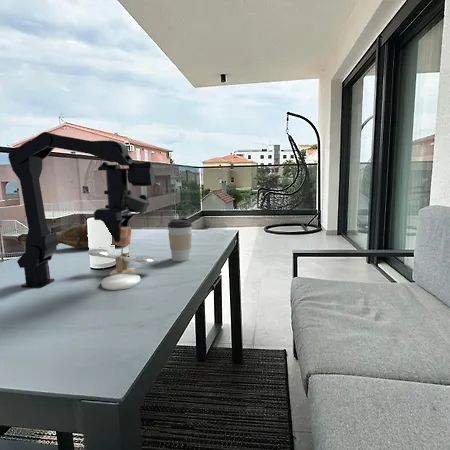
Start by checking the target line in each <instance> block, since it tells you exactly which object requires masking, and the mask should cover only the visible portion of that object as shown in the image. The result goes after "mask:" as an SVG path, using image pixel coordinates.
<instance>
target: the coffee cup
mask: <svg viewBox="0 0 450 450" xmlns="http://www.w3.org/2000/svg"><path fill="white" fill-rule="evenodd" d="M192 227H193V223H192V222H190V220H189V219H188V218H187V217H186V218H184V217H183V218H177V219H171V220H170V221H169V223H167V229H168V230H167V231H168V233H167V234H168V241H169V249H170V253H171V260H172V261H174V262H188V261H190V260H191V258H192V257H191V252H192V251H191V250H192V242H193V241H192V237H193V235H192V234H193V232H192Z"/></svg>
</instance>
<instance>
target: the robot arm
mask: <svg viewBox="0 0 450 450" xmlns="http://www.w3.org/2000/svg"><path fill="white" fill-rule="evenodd" d="M55 148H56V149H62V150H64V151H65V150H66V151H71V152H76V153H81V154H88V155H92V156H93V157H96V158H99V159H101V160H104V161H103V162H102V164H101V165H99V166H98V168H97V170H98V171H105V176H106V177H105V181H106V190H104V191H103V192H104V193H103V194H104V195H107V204H106V205H105V206H104V207H103V208H101V207H100V208H97V209H96V210H95V211H94V212H93V220H94V221H101V222H103V224H105V225H106V227H107V228H108V230H109V232H110V233H111V235H112V237H113V238H114V240H115V242H119V241H120V231H121V226H126V227H130V226H129V224H130V223H131V222H130V221H131V220H132V219H133V218H134V217H136V213H137V214H138V213H140V214H144V213H147V209H148V206H150V200H149V198H148V197H149V196H148V195H145V194H140V195H139V196H136V195H133V193H132V191H131V189H129V187H128V186H129V185H128V183H129V184H131V185H132V187H154V186H155V180H156V179H155V178H156V177H155V171H154V168H153V163H152V162H151V161H146V162H135V161H134V160H133V158H132V157H131V156H130V154H129V150H128V147H127V146H126V145H125V144H124V143H123V142H119V141H116V140H87V139H81V138H76V137H71V136H66V135H65V136H64V135H59V134H56V133H52V132H48V131H43V132H41V133H39V134H38V135H36V136H35V137H34V138H32V139H29V140H27V141H25V142H23V143H22V144H20V145H19V146H16V147H13V148H12V149H11V150H10V151H9V152H8V161H9V164H10V166H11V169H12V171H13V173H14V174H15V175H16V177H17V178H18V180H19V183H20V189H21V194H22V201H23V206H24V212H25V219H26V223H27V229H28V231H27V233H26V234H27V237H26V240H25V244H24V253H23V254H22V255H21V256H20V257H19V258H18V259H17V260H16V262H17V265H18V267H19V268H20V269H23V270H24V278H25V283H23V284H21V285H20V286H21V287H22V288H43V287H45V286H47V285H49V284H51V283H53V282H54V281H55V278H51V274H50V266H49V261H51V260H52V257H53V255H54V254H55V253H56V251H57V249H58V248H57V247H58V246H59V243H57V240H56V233H57V232H56V231H55V232H51V231H50V229H49V228H48V225H47V219H46V213H45V212H46V211H45V207H44V206H45V205H44V202H43V201H44V200H43V195H42V194H43V193H42V189H41V188H42V187H41V183H40V178H41V174H42V171H43V160H45V159H46V158H47V157H49V155H50V154H51V153H52V152H53V150H55ZM108 162H109V163H108ZM110 163H116V164H110ZM122 166H127V168H126V167H125V168H124V167H123V168H121V167H122ZM132 213H133V214H132ZM134 213H135V214H134Z"/></svg>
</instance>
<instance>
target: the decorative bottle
mask: <svg viewBox="0 0 450 450" xmlns="http://www.w3.org/2000/svg"><path fill="white" fill-rule="evenodd" d="M86 224H87V223H85V224H77V225H74V226H71V227H69V228H67V229H65V230H61V231H57V232H56V240H57V243H58V244H62V245H65V246H66V245H67V246H70V247H73V248H76V249H84V250H85V249H89V248H88V237H87V230H86ZM27 234H28V233H21V234H19V235H17V236H18V237H17V242H18V244H20V245H22V246H23V245H25V240H26V237H27Z"/></svg>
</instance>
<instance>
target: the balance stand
mask: <svg viewBox="0 0 450 450" xmlns="http://www.w3.org/2000/svg"><path fill="white" fill-rule="evenodd" d="M127 254H128V253H126V252H123V254H122V256H123V255H124V256H125V257H128V255H127ZM122 256H121V255H118V256H116V259H115V262H116V269H114V270H112V271H110V273H109V276H113V275H118V274H133V272H135V271H136V268H135V267H128V261H125V260H122Z"/></svg>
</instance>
